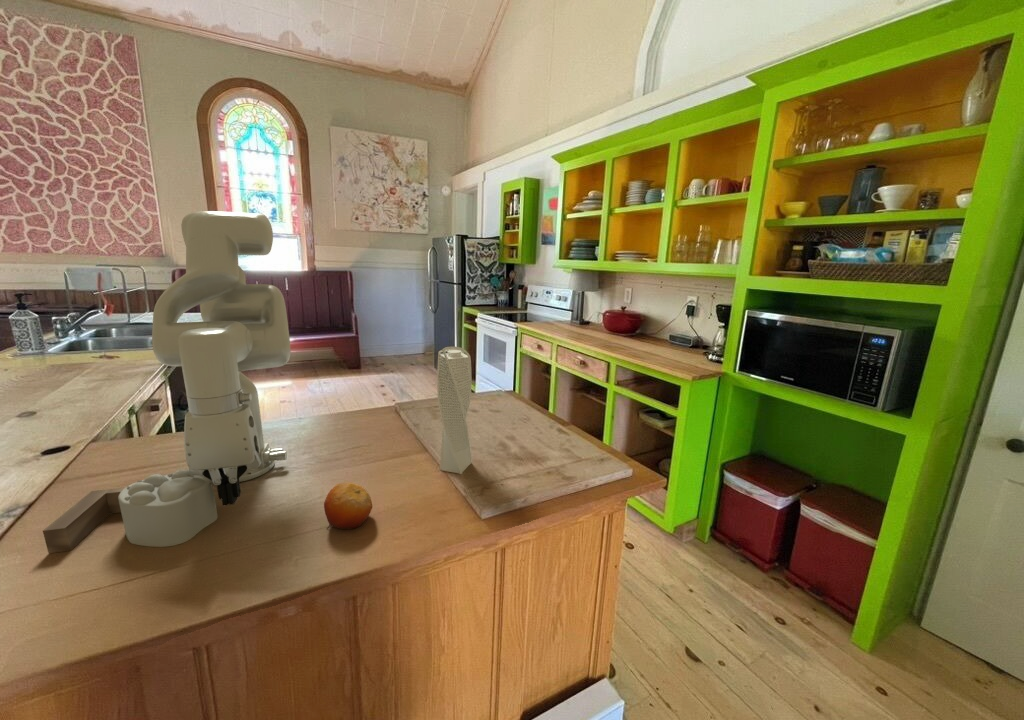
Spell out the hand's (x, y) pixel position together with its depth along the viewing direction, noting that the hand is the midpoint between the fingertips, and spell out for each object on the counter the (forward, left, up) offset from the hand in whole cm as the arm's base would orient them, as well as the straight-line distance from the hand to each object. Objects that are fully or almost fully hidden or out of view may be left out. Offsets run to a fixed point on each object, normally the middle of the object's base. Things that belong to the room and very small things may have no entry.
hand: (230, 500), depth 78 cm
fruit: (-20, +7, -3) cm, 22 cm away
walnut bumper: (+18, -2, -3) cm, 18 cm away
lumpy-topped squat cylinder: (+10, 0, -3) cm, 10 cm away
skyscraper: (-41, -9, -3) cm, 42 cm away
